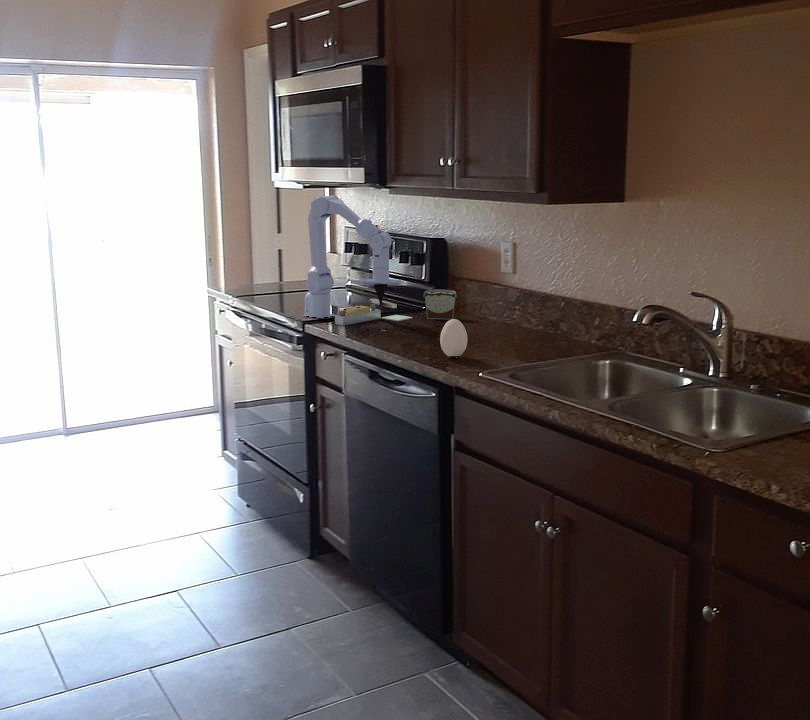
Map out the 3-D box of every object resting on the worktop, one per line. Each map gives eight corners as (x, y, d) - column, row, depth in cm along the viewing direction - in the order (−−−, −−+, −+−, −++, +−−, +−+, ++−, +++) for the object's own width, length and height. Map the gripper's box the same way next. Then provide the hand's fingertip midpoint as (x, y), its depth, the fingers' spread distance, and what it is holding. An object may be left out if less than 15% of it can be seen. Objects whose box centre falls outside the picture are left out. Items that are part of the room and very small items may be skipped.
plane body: (335, 324, 318) (334, 307, 316) (372, 317, 331) (372, 301, 330) (343, 325, 315) (342, 308, 314) (380, 318, 329) (380, 302, 327)
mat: (381, 318, 328) (381, 317, 328) (396, 315, 334) (396, 314, 334) (397, 321, 323) (397, 320, 323) (412, 318, 329) (412, 317, 329)
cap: (346, 312, 322) (346, 306, 321) (360, 310, 327) (360, 304, 326) (356, 314, 318) (356, 308, 318) (370, 312, 323) (369, 305, 323)
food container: (457, 316, 333) (458, 289, 331) (456, 319, 327) (457, 292, 325) (424, 316, 334) (424, 289, 332) (423, 318, 328) (423, 291, 326)
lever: (391, 308, 314) (391, 304, 314) (368, 302, 328) (368, 298, 327) (397, 307, 316) (397, 304, 315) (373, 301, 329) (373, 298, 329)
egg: (450, 353, 270) (451, 315, 268) (472, 357, 266) (473, 318, 263) (434, 357, 264) (434, 319, 262) (456, 361, 260) (457, 322, 257)
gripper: (401, 266, 320) (400, 304, 323) (360, 265, 320) (360, 303, 323) (401, 268, 314) (401, 307, 317) (359, 268, 313) (360, 307, 316)
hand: (380, 305), depth 319 cm, fingers closed, pressing on lever
